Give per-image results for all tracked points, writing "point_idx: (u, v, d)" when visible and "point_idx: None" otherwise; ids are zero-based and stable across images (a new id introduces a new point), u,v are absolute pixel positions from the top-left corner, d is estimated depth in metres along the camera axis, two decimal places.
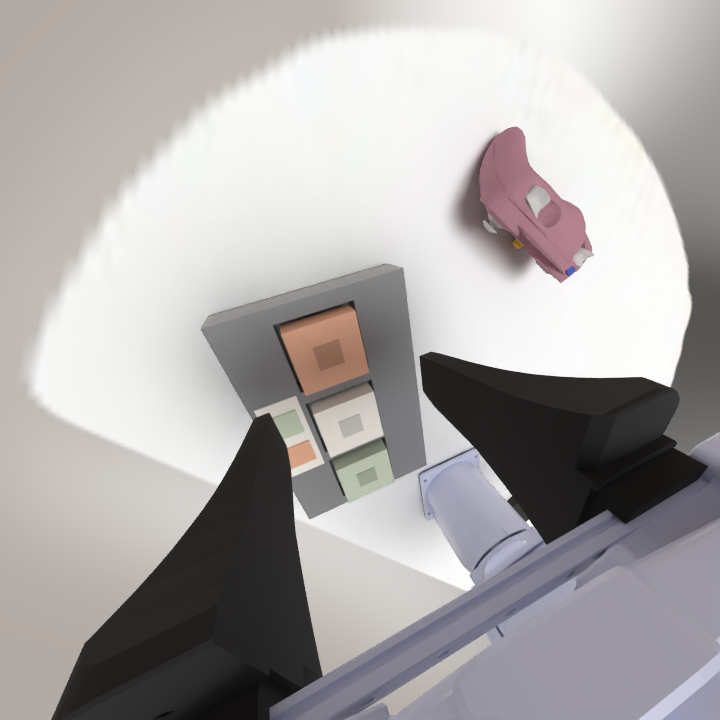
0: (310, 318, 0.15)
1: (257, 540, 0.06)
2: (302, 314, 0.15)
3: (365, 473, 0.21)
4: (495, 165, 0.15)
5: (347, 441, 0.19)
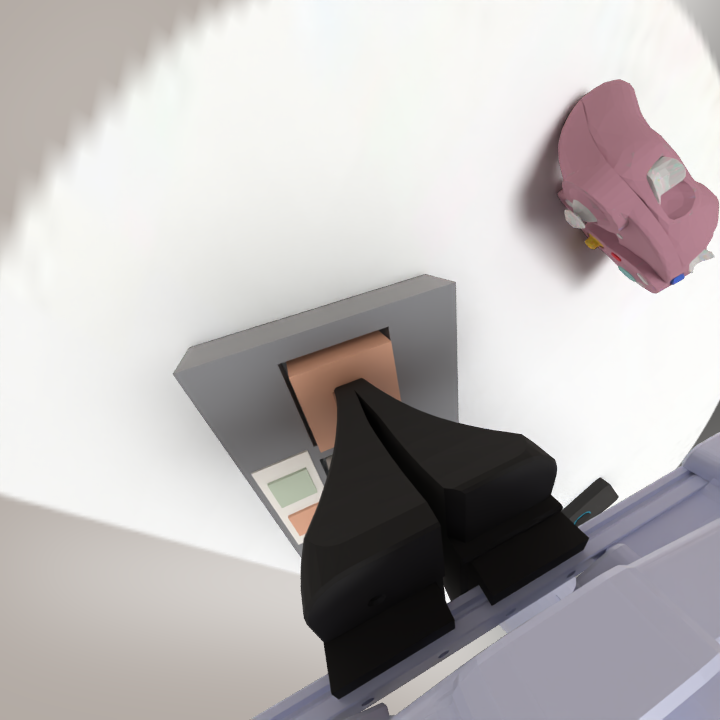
0: (328, 351, 0.11)
1: None
2: (318, 347, 0.11)
3: None
4: (592, 132, 0.11)
5: None
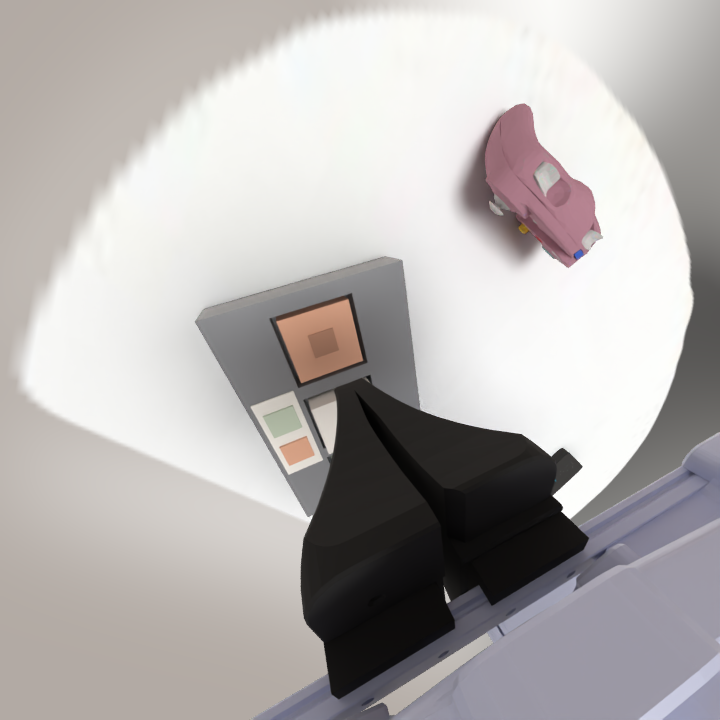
0: (305, 307, 0.16)
1: None
2: (299, 307, 0.15)
3: None
4: (502, 143, 0.15)
5: None
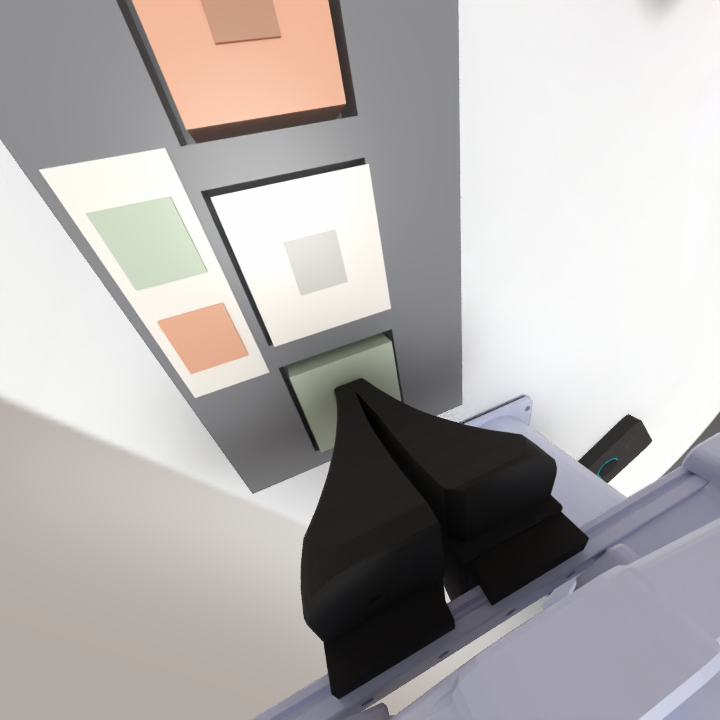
0: None
1: None
2: None
3: None
4: None
5: (311, 308, 0.09)
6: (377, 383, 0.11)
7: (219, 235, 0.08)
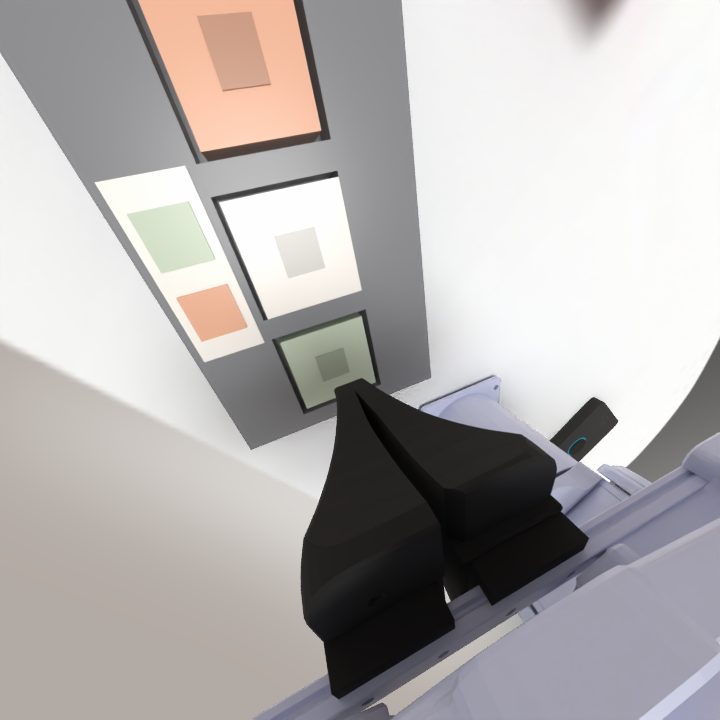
0: None
1: None
2: None
3: (329, 357, 0.14)
4: None
5: (296, 288, 0.11)
6: (351, 351, 0.14)
7: (224, 231, 0.10)
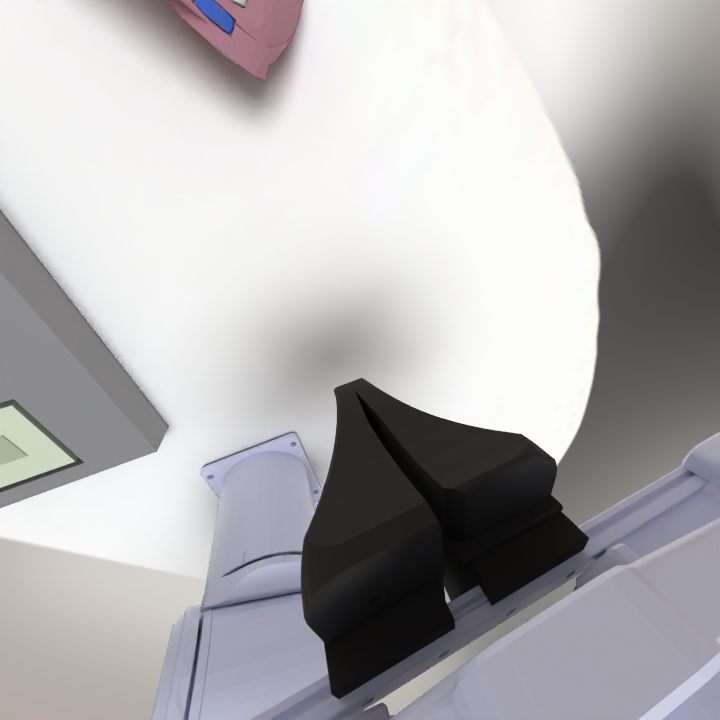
0: None
1: None
2: None
3: None
4: None
5: None
6: (18, 437, 0.14)
7: None
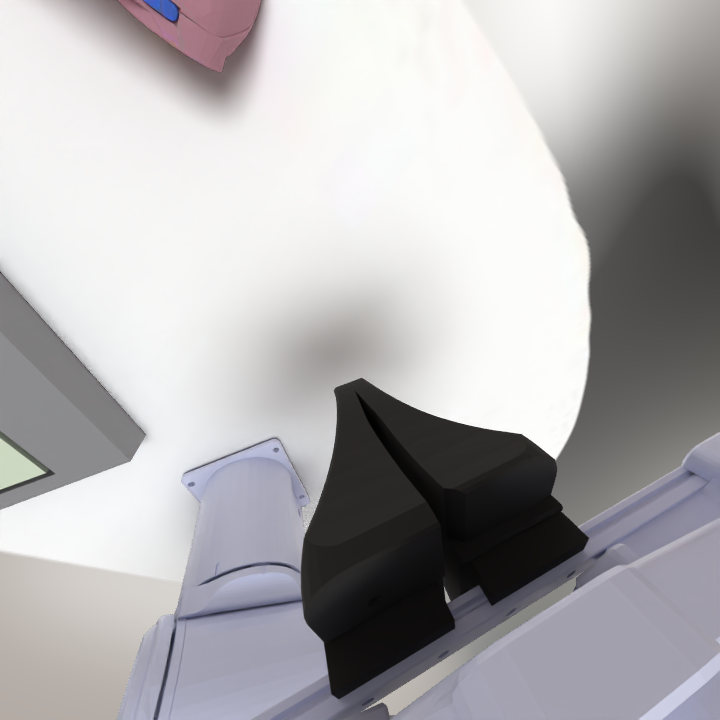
0: None
1: None
2: None
3: None
4: None
5: None
6: None
7: None
